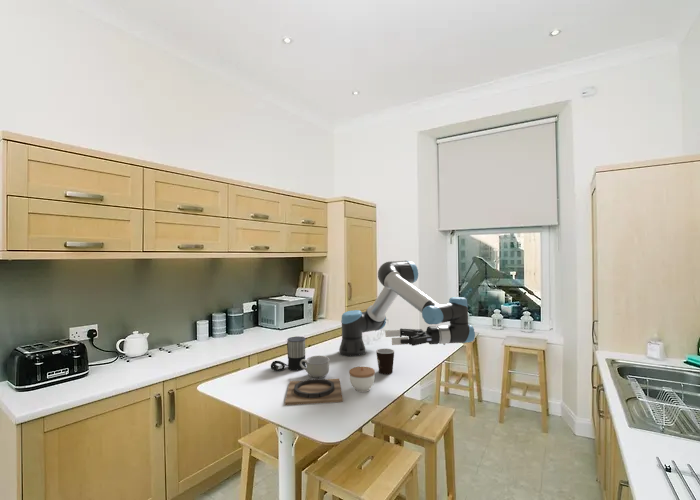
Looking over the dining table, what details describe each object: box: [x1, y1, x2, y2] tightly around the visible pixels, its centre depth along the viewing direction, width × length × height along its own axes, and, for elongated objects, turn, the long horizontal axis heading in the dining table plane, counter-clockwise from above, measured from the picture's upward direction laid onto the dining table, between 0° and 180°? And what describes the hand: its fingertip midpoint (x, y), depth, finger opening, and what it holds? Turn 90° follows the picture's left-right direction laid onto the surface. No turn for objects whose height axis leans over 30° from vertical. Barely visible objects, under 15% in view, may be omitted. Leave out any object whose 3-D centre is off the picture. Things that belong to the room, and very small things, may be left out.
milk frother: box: [270, 336, 307, 372], centre depth 172 cm, size 14×16×15 cm
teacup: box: [300, 355, 330, 379], centre depth 161 cm, size 14×11×8 cm
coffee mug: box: [375, 348, 395, 375], centre depth 165 cm, size 12×9×10 cm
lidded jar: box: [349, 366, 376, 393], centre depth 144 cm, size 11×11×9 cm
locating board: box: [284, 377, 344, 406], centre depth 142 cm, size 22×22×2 cm
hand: (388, 337), depth 145 cm, fingers open, 13 cm apart
